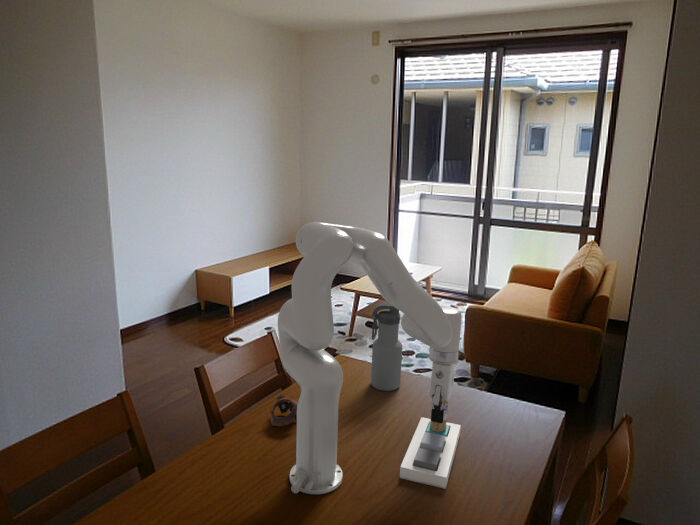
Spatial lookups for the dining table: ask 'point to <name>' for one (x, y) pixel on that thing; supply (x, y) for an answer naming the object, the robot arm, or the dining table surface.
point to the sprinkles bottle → (442, 426)
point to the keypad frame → (446, 457)
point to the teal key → (444, 433)
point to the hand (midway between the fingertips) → (438, 416)
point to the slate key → (433, 442)
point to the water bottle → (386, 349)
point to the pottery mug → (284, 411)
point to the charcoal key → (427, 459)
